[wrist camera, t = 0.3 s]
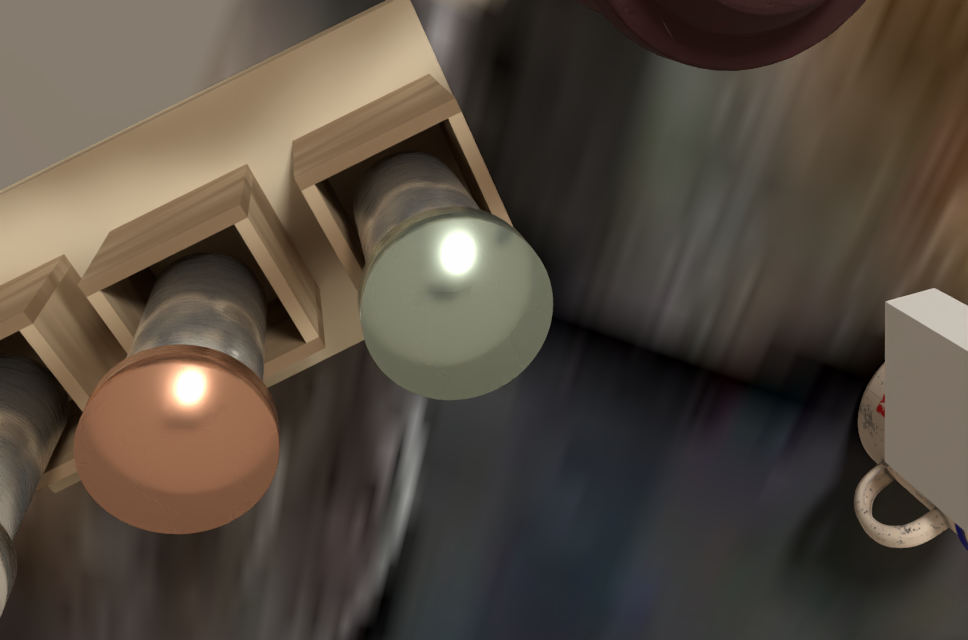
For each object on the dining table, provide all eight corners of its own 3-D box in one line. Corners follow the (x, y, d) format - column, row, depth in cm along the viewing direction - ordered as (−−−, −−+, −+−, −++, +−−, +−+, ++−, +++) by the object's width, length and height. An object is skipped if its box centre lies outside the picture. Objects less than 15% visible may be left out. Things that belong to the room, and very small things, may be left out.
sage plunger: (313, 175, 31) (325, 275, 22) (442, 112, 31) (508, 185, 22) (378, 293, 33) (414, 430, 24) (498, 234, 33) (580, 347, 24)
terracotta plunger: (106, 278, 31) (30, 422, 22) (235, 214, 31) (215, 331, 22) (185, 390, 33) (146, 563, 24) (305, 329, 33) (313, 480, 24)
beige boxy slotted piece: (-123, 251, 35) (-221, 326, 28) (402, -8, 35) (430, 4, 28) (62, 474, 40) (17, 583, 33) (518, 248, 40) (565, 310, 34)
